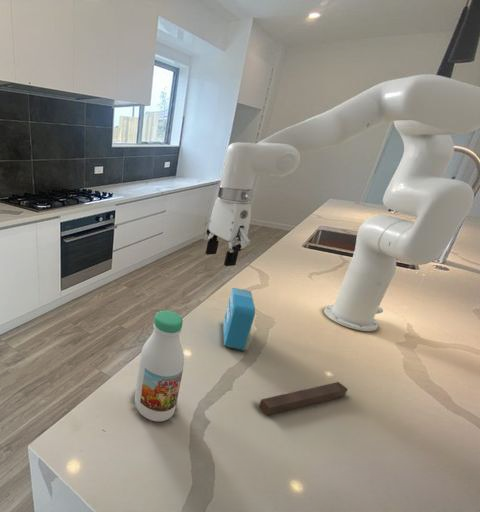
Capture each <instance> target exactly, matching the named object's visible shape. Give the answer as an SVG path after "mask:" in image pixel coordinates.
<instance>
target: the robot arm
mask: <svg viewBox="0 0 480 512" xmlns="http://www.w3.org/2000/svg"><path fill="white" fill-rule="evenodd" d="M388 122H393V126H394V128H395V130H396V131H397V133H398V134H399V136H400V137H401V140H402V142H403V143H402V144H403V154H402V157H401V159H400V161H399V164H398V166H397V168H396V169H395V171H394V174H393V176H392V178H391V180H390V181H389V183H388V185H387V188H386V189H385V191H384V195H383V197H382V203H383V206H384V207H385V208H387V209H389V210H391V211H393V212H396V213H400V214H404V215H408V216H412V217H415V221H412V220H408V219H405V218H400V217H398V216H397V217H396V216H392V215H385V214H384V215H383V214H382V215H381V214H379V215H374V216H371V217H368V218H367V219H365V221H363V222H362V223H361V224H360V226H359V228H358V230H357V233H356V240H355V247H354V250H353V253H352V257H351V260H350V263H349V265H348V267H347V270H346V272H345V274H344V277H343V279H342V282H341V285H340V287H339V290H338V292H337V295H336V297H335V300H334V302H333V304H330V305H327V306H325V307H324V310H323V312H324V314H325V316H326V317H327V318H329V319H330V320H331V321H333V322H334V323H337V324H339V325H341V326H343V327H346V328H349V329H353V330H356V331H361V332H374V331H377V329H378V327H379V324H378V322H377V320H376V319H374V318H375V316H376V315H378V314H382V313H383V312H384V309H383V307H381V303H382V302H383V299H384V298H385V295H386V293H387V291H388V289H389V287H390V284H391V282H392V280H393V278H394V276H395V273H396V270H397V260H398V261H401V262H403V263H406V264H409V265H413V266H424V265H427V264H430V263H432V262H434V261H435V260H437V259H438V258H439V257H440V256H441V255H442V254H443V253H444V252H445V250H446V249H447V247H448V246H449V244H450V243H451V241H452V239H453V238H454V237H455V235H456V234H457V232H458V230H459V229H460V227H461V225H462V224H463V222H464V221H465V219H466V217H467V216H468V215H469V212H470V210H471V209H472V206H473V204H474V200H475V193H474V189H473V188H472V186H471V185H470V184H469V183H467V182H465V181H462V180H459V179H454V178H447V177H445V175H446V173H447V170H448V168H449V166H450V164H451V162H452V160H453V158H454V154H455V144H454V140H453V138H452V136H460V135H466V134H469V133H472V132H475V131H476V130H478V129H480V86H477V85H474V84H471V83H467V82H463V81H460V80H457V79H454V78H451V77H447V76H444V75H438V74H432V73H425V74H423V73H422V74H416V75H412V76H407V77H406V76H405V77H400V78H395V79H389V80H386V81H382V82H380V83H377V84H376V85H373V86H372V87H370V88H368V89H366V90H363V91H361V92H360V93H359V94H356V95H355V96H352V97H351V98H349V99H347V100H345V101H343V102H342V103H340V104H338V105H336V106H334V107H332V108H331V109H328V110H327V111H324V112H322V113H319V114H317V115H314V116H311V117H309V118H307V119H305V120H303V121H300V122H298V123H296V124H292V125H290V126H287V127H285V128H283V129H280V130H278V131H277V132H275V133H273V134H271V135H269V136H267V137H266V138H264V139H262V140H260V141H258V142H257V143H255V142H241V141H240V142H239V141H237V142H232V143H230V144H229V145H228V147H227V149H226V154H225V157H224V164H223V168H222V174H221V178H220V182H219V183H220V184H219V187H218V188H219V189H218V193H217V197H216V200H215V202H214V205H213V208H212V211H211V215H210V219H209V220H208V221H207V222H205V229H206V235H207V236H206V239H207V244H206V249H205V255H208V256H209V255H216V254H217V252H218V248H219V242H220V241H219V240H218V239H219V238H220V239H222V240H224V241H226V242H227V245H228V250H227V251H226V253H225V258H224V262H223V266H225V267H233V266H236V264H237V261H238V257H239V256H238V255H239V253H241V252H242V251H243V250H244V249H245V248H246V247H248V246H249V245H250V244H251V240H250V238H249V237H248V234H249V228H250V224H251V214H252V203H251V202H250V201H251V199H252V198H253V196H252V192H253V188H254V184H255V180H256V176H257V175H260V176H265V177H266V176H268V177H271V178H283V177H286V176H288V175H291V174H292V173H293V172H294V171H296V170H297V169H298V167H299V165H300V163H301V162H300V161H301V155H300V154H303V153H307V152H314V151H321V150H327V149H331V148H335V147H339V146H341V145H343V144H346V143H348V142H350V141H351V140H354V139H355V138H357V137H360V136H361V135H363V134H365V133H367V132H369V131H371V130H372V129H375V128H377V127H379V126H381V125H383V124H385V123H388Z"/></svg>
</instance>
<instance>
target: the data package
mask: <svg viewBox="0 0 480 512" xmlns="http://www.w3.org/2000/svg"><path fill="white" fill-rule="evenodd" d="M255 315H256V306H255V303H254V298H253V294H252V291H251V290H247V289H243V288H242V289H241V288H237V287H232V288H231V289H230V294H229V298H228V301H227V306H226V310H225V314H224V318H223V324H222V327H223V346H224V347H226V348H231V349H236V350H238V351H245V350H246V346H247V344H248V341H249V340H248V339H249V336H250V334H251V333H250V332H251V331H252V330H251V329H252V326H253V323H254V319H255Z"/></svg>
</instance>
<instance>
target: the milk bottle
mask: <svg viewBox="0 0 480 512" xmlns="http://www.w3.org/2000/svg"><path fill="white" fill-rule="evenodd" d="M153 319H154V320H153V331H152V333H151V335H150V336H149V337H148V338H147V340H146V341H145V342H144V344H143V347H142V349H141V353H140V358H139V363H138V371H137V377H136V384H135V393H134V405H135V408H136V410H137V412H139V414H140V415H141V416H142V417H144V418H146V419H148V420H149V421H153V422H164V421H167V420H169V419H170V418H172V417H173V415H174V414H175V411H176V408H177V402H178V397H179V393H180V387H181V384H182V383H181V382H182V379H183V378H182V377H183V372H184V366H185V357H184V356H185V355H184V350H183V347H182V343H181V340H180V334H181V333H182V327H183V323H184V322H183V317H182V316H181V315H180V314H178V313H177V312H174V311H171V310H160V311H157V312H156V313H155V315H154V318H153Z"/></svg>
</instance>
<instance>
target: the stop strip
mask: <svg viewBox="0 0 480 512" xmlns="http://www.w3.org/2000/svg"><path fill="white" fill-rule="evenodd" d="M348 389H349V388H348V387H346V386H344V385H343V384H342V383H341V382H339V381H336V382H333V383H327V384H323V385H318V386H315V387H310V388H306V389H301V390H297V391H291V392H288V393H283V394H279V395H275V396H270V397H266V398H262V399H260V402H259V404H258V407H259V409H260V410H261V412H263V413H264V414H265V415H266V416H269V415H273V414H277V413H282V412H286V411H290V410H293V409H299V408H302V407H306V406H310V405H311V406H312V405H314V404H319V403H322V402H326V401H331V400H334V399H339V398H343V397H345V396H346V394H347V392H348Z"/></svg>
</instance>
